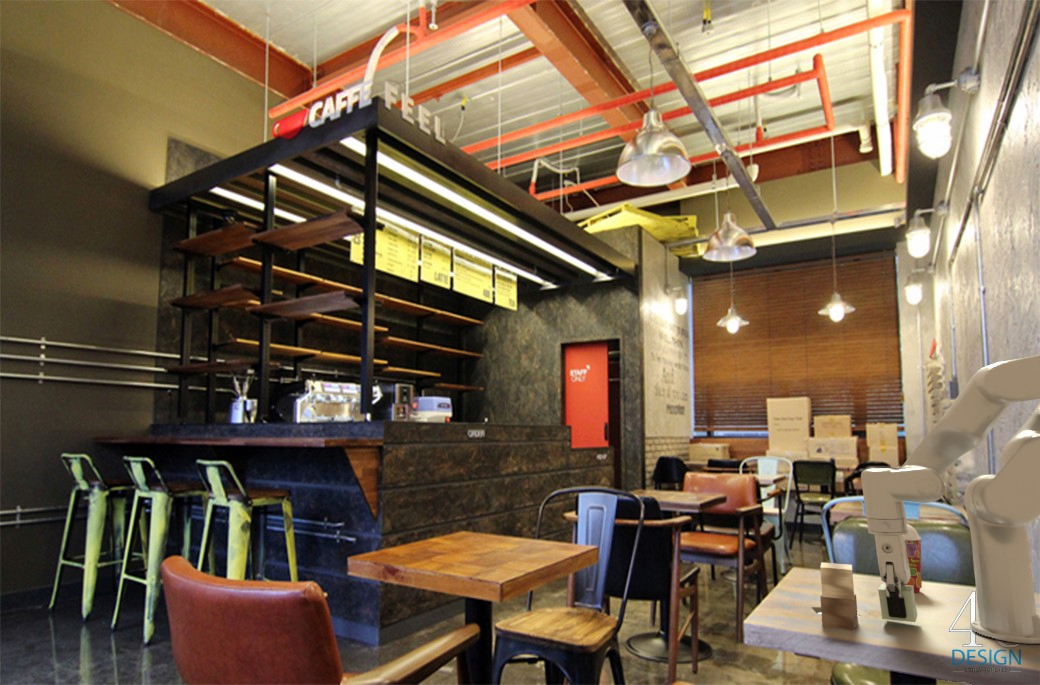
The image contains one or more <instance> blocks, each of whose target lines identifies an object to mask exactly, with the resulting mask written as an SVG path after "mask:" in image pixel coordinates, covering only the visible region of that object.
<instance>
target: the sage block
mask: <svg viewBox="0 0 1040 685" xmlns="http://www.w3.org/2000/svg"><path fill="white" fill-rule="evenodd" d="M897 588H898V586H897ZM901 589H902V598H904V601H905V608H906V615H907V617H906V618H895V617H890V616H889V613H888V606H887V598H886V596H887V593H886V583H881V584H880V585H879V587H878V597H879V603H880V604H879V605H880V611H881V618H882V620H887V621H888V620H890V621H901V622H911V623H916V621H917V618H918V610H917V602H916V598H915V593H914V588H913V586H908V585H901Z"/></svg>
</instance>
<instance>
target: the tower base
mask: <svg viewBox="0 0 1040 685" xmlns="http://www.w3.org/2000/svg"><path fill="white" fill-rule="evenodd" d="M857 600H858V599H857V594H855V593H854V600H849V599H839V598H830V597H822V594H821V595H820V607H821V614H820V615H821V626H823V627H828V628H835V629H842V630H848V631H855V629H856V628H857V627H856V626H858V625H859V616H858V614H857V612H858V603H857V602H858V601H857Z"/></svg>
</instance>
